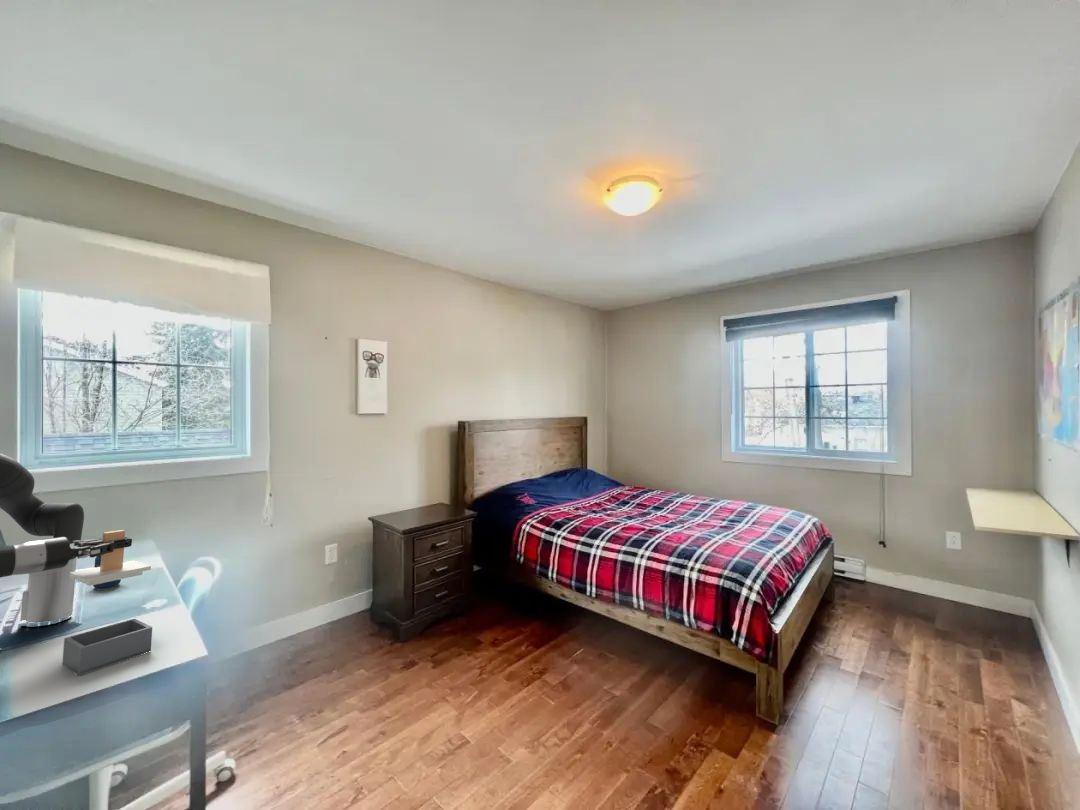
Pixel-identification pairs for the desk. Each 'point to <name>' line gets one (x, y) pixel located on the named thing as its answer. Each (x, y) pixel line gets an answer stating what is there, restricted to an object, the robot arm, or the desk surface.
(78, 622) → the desk surface
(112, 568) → the lid
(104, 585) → the soda can
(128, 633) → the tub
